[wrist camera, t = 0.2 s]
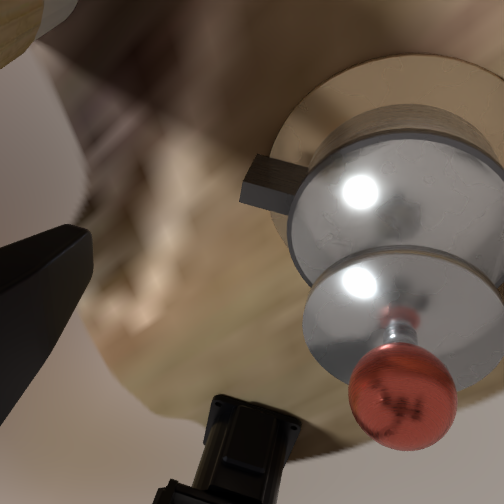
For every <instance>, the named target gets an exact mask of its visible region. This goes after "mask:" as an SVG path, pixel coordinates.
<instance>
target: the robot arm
mask: <svg viewBox="0 0 504 504" xmlns="http://www.w3.org/2000/svg"><path fill="white" fill-rule="evenodd" d="M93 269H94V263H93V239H92V234H91V232H90V231H89V230H87V229H85V228H81V227H78V226H75V225H71V224H64V225H61V226H58V227H55V228H53V229H50V230H47V231H45V232H42V233H39V234H36V235H33V236H31V237H28V238H25V239H23V240H20V241H17V242H14V243H12V244H9V245H6V246H4V247H1V248H0V426H1V424H2V423H3V422H4V420H5V419H6V417H7V416H8V414H9V413H10V412H11V410H12V408H13V407H14V406H15V404H16V403H17V402H18V400H19V399H20V397H21V396H22V394H23V393H24V391H25V390H26V389H27V387H28V386H29V384H30V383H31V381H32V380H33V379H34V377H35V376H36V374H37V373H38V371H39V370H40V368H41V367H42V366H43V364H44V363H45V361H46V359H47V358H48V356H49V355H50V353H51V352H52V350H53V348H54V346H55V345H56V343H57V341H58V339H59V337H60V336H61V334H62V332H63V330H64V328H65V326H66V324H67V323H68V321H69V319H70V317H71V315H72V313H73V311H74V310H75V308H76V306H77V304H78V302H79V300H80V299H81V297H82V295H83V293H84V291H85V289H86V287H87V286H88V284H89V282H90V280H91V277H92V274H93ZM301 425H302V423H301V422H300V421H299V420H297V419H294V418H291V417H288V416H285V415H281V414H278V413H275V412H272V411H268V410H265V409H262V408H259V407H256V406H252V405H249V404H246V403H243V402H240V401H236V400H233V399H230V398H227V397H224V396H220V395H216V396H214V397H213V400H212V403H211V407H210V412H209V417H208V422H207V427H206V431H205V436H204V441H203V444H204V445H205V448H204V451H203V454H202V457H201V460H200V463H199V466H198V469H197V472H196V475H195V478H194V481H193V484H192V487H190V486H187V485H184V484H181V483H178V481H177V480H174V479H170V481H169V483H168V486H166V487H164V488H158V491H157V493H156V496H155V498H154V501H153V503H152V504H276V503H277V497H278V492H279V486H280V481H281V476H282V470H283V468H284V466H285V464H286V462H287V460H288V457H289V455H290V453H291V451H292V448H293V446H294V444H295V442H296V439H297V437H298V435H299V433H300V430H301Z"/></svg>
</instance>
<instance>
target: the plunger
mask: <svg viewBox="0 0 504 504" xmlns="http://www.w3.org/2000/svg"><path fill="white" fill-rule="evenodd" d="M302 326H303V334H304V338H305V341H306V344H307V346H308V348H309V350H310V352H311V353H312V355H313V356H314V358H315V359H316V360H317V361H318V363H319V364H320V365H321V366H322V367H323V368H324V369H325V370H327V371H328V372H329V373H330V374H332V375H333V376H334V377H336V378H337V379H339V380H341V381H342V382H344V383H346V384H348V385H349V387H348V396H349V403H350V407H351V410H352V413H353V415H354V417H355V419H356V421H357V423H358V424H359V426H360V427H361V428H362V430H363V431H364V432H365V433H366V434H367V435H368V436H369V437H371V438H372V439H373V440H375V441H376V442H378V443H379V444H381V445H383V446H385V447H388V448H391V449H395V450H400V451H415V450H420V449H424V448H426V447H429V446H431V445H433V444H435V443H436V442H437V441H439V440H440V439H441V438H442V437H443V436H444V435H445V434H446V433H447V432H448V430H449V429H450V427H451V425H452V423H453V421H454V418H455V416H456V411H457V404H458V403H457V391H460V390H463V389H465V388H467V387H469V386H471V385H473V384H475V383H476V382H478V381H480V380H481V379H483V378H484V377H485V376H487V375H488V374H489V373H490V372H491V371H492V370H493V369H494V368H495V367H496V366H497V365H498V363H499V362H500V360H501V359H502V358H503V356H504V303H503V300H502V298H501V295H500V293H499V291H498V290H497V288H496V287H495V285H494V284H493V282H492V281H491V280H490V279H489V278H488V277H487V276H486V275H485V274H484V273H483V272H482V271H480V270H479V269H478V268H477V267H475V266H474V265H472V264H471V263H469V262H468V261H466V260H464V259H462V258H460V257H458V256H456V255H453V254H451V253H448V252H445V251H442V250H439V249H434V248H430V247H425V246H416V245H386V246H379V247H374V248H368V249H365V250H362V251H359V252H355V253H353V254H351V255H349V256H346V257H344V258H342V259H341V260H339V261H337V262H336V263H334V264H333V265H331V266H330V267H329V268H328V269H326V270H325V271H324V272H323V273H322V274H321V275H320V276H319V277H318V278H317V280H316V281H315V283H314V284H313V286H312V287H311V290H310V292H309V294H308V297H307V301H306V305H305V310H304V315H303V325H302Z"/></svg>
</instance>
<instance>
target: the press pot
mask: <svg viewBox="0 0 504 504" xmlns="http://www.w3.org/2000/svg"><path fill="white" fill-rule="evenodd" d="M239 202H241V203H244V204H248V205H251V206H255V207H258V208H262V209H266V210H269V211H270V214H271V217H272V220H273V222H274V225H275V227H276V229H277V231H278V233H279V235H280V236H281V238H282V240H283V241H284V243H285V244H286V246H287V247H288V248H289V251H290V255H291V258H292V260H293V262H294V264H295V267H296V268H297V270H298V272H299V273H300V275H301V276H302V278H303V279H304V280H305V281H306V283H307V284H308V285H309V286H310V287H312V286H313V284H314V283H315V281H316V280H317V278H318V277H319V276H320V275H321V274H322V273H323V272H324V271H325V270H326V269H328V268H329V267H330V266H331V265H333V264H334V263H336V262H337V261H339V260H341V259H342V258H344V257H346V256H349V255H351V254H353V253H355V252H359V251H362V250H365V249H368V248H374V247H379V246H386V245H416V246H425V247H430V248H434V249H439V250H442V251H445V252H448V253H451V254H453V255H456V256H458V257H460V258H462V259H464V260H466V261H468V262H469V263H471V264H472V265H474V266H475V267H477V268H478V269H479V270H480V271H482V272H483V273H484V274H485V275H486V276H487V277H488V278H489V279H490V280H491V281H492V282H493V284H494V285H495V287H496V288H498V287H499V286H500V285H501V284H502V283H503V282H504V80H502V79H501V78H500V77H498V76H497V75H495V74H494V73H492V72H490V71H488V70H486V69H484V68H482V67H480V66H478V65H476V64H473V63H470V62H467V61H464V60H461V59H458V58H454V57H448V56H443V55H437V54H422V53H408V54H397V55H389V56H385V57H380V58H376V59H371V60H368V61H365V62H362V63H360V64H357V65H354V66H351V67H349V68H347V69H345V70H343V71H341V72H339V73H337V74H335V75H333V76H332V77H330V78H329V79H327V80H326V81H324V82H323V83H321V84H320V85H319V86H317V87H316V88H315V89H313V90H312V91H311V92H310V93H309V94H308V95H307V96H306V97H305V98H303V99H302V100H301V102H300V103H299V104H298V105H297V106H296V107H295V109H294V110H293V111H292V112H291V113H290V115H289V116H288V118H287V120H286V121H285V123H284V124H283V126H282V127H281V129H280V131H279V134H278V136H277V138H276V140H275V142H274V145H273V147H272V150H271V154H270V157H268V156H264V155H260V154H257V155H256V157H255V159H254V161H253V163H252V165H251V167H250V168H249V170H248V172H247V174H246V176H245V178H244V180H243V183H242V189H241V194H240V199H239Z"/></svg>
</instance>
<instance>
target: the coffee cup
mask: <svg viewBox="0 0 504 504" xmlns="http://www.w3.org/2000/svg"><path fill="white" fill-rule="evenodd" d="M77 2H78V0H0V69H2V68H3V67H5V66H6V65H7V64H9V63H10V62H11V61H13V60H15V59H16V58H17V57H19V56H20V55H22V54H23V53H24V52H25V51H26V50H27V48H28V47H29V46H30V45H31V43H32V42H34V41H35V40H37V39H38V38H40V37H41V36H42V35H44V34H45V33H47V32H48V31H50V30H51V29H53V28H54V27H56V26H57V25H59V24H60V23H61V22H63V21H64V20H66V19H67V18H68V16H69V15H70V14H71V13H72V11H73V10H74V8H75V6H76V4H77Z"/></svg>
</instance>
